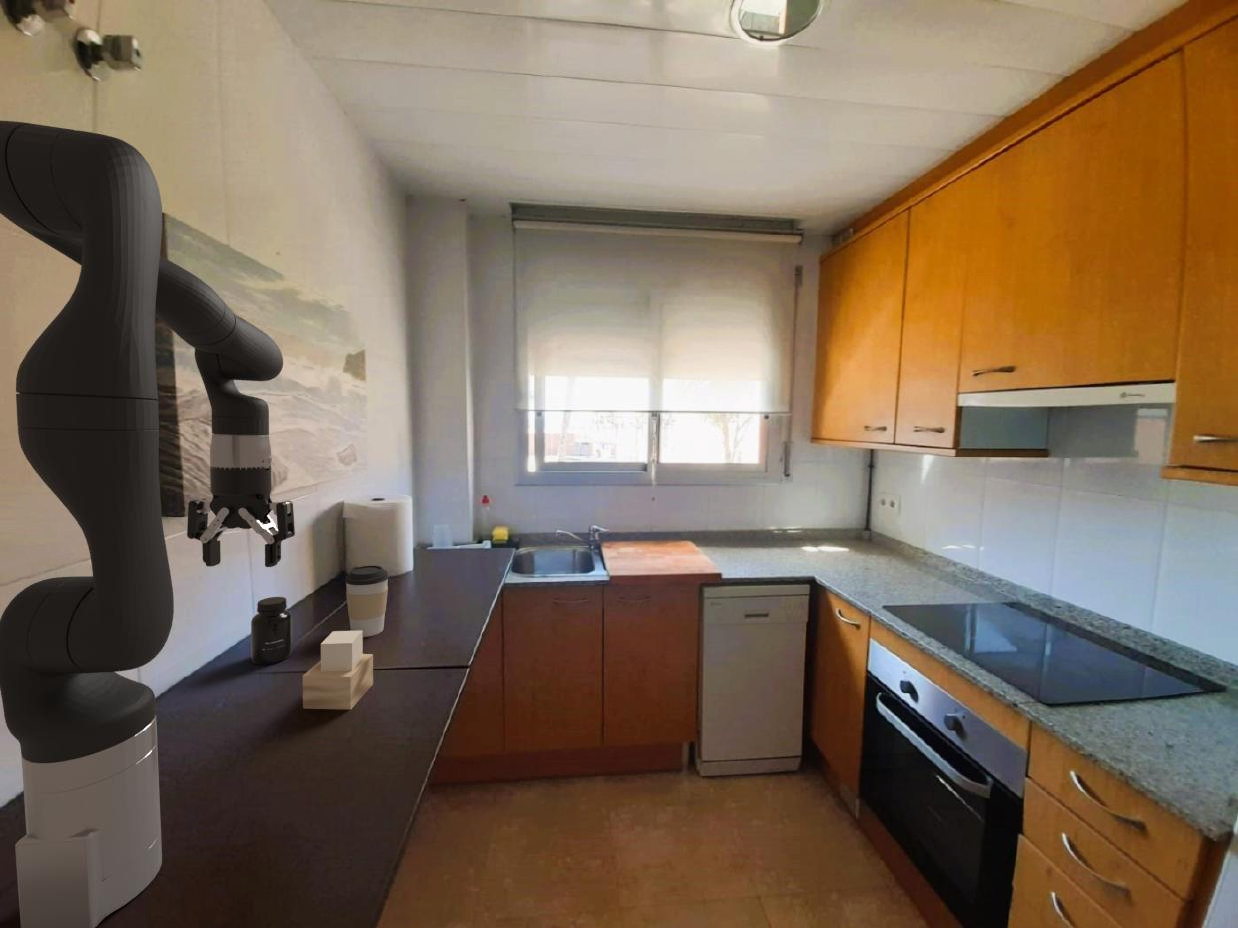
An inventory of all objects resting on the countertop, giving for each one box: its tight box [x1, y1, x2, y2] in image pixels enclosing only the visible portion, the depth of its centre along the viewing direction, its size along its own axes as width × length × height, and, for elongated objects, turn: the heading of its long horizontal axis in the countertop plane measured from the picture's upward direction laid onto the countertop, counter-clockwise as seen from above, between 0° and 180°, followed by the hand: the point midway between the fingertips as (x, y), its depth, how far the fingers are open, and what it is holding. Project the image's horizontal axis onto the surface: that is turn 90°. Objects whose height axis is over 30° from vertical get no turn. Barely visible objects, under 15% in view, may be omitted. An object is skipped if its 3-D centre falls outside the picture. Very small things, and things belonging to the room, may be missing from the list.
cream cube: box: [320, 630, 364, 672], centre depth 86 cm, size 5×5×5 cm
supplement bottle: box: [250, 596, 293, 666], centre depth 98 cm, size 7×7×12 cm
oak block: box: [302, 653, 374, 710], centre depth 86 cm, size 8×8×6 cm
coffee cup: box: [344, 564, 390, 638], centre depth 111 cm, size 9×9×15 cm
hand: (242, 565), depth 76 cm, fingers open, 8 cm apart
